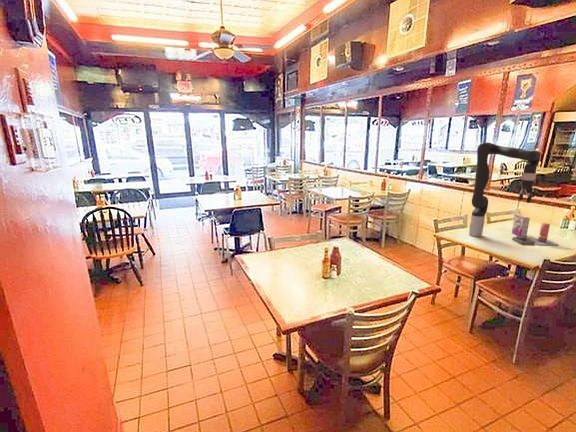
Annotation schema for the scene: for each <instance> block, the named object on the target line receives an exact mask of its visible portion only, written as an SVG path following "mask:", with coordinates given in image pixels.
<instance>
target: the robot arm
mask: <svg viewBox="0 0 576 432" xmlns="http://www.w3.org/2000/svg"><path fill="white" fill-rule="evenodd" d="M476 154H477V155H476V156H477V157H476V160H477V161H476V169H475V179H474V187H473V193H472V197H471V205H472V207H473V208H474V209H473V210H472V212H471V218H470V225H469V231H468V232H469V233H468V234H469V236H471V237H475V238H476V237H477V238H481V237H483V234H484V233H483V231H484V224H485V219H486V213H487V211H488V207H489V198H488V197H487V196H486V195H484V191H485V189H486V187H487V185H488V182H489V179H490V168H489V163H488V160H489V158H488V157H489V155H500V156H503V157H507V158H510V159H511V158H512V159H520V160H522V161H527V163H526V164H525V165H524V166H523V167H524V168H523V174H522V176H521V181H520V185H519V186H518V189H517V194H518V195H519V196H518V200H519V201H523V198H524V195H526V203H527V204H530V203H531V201H532V198H534V197H535V193H536V188H533V187H534V186H535V182H536V181H535V180H536V176H537V175H536V173H537V169H538V165H539V162H540V159H541V153H540V151H538V150H526V149H523V148H517V147H510V146H502V145H498V144H494V143H491V142H482V143H479V145H478V147H477V150H476Z"/></svg>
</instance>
